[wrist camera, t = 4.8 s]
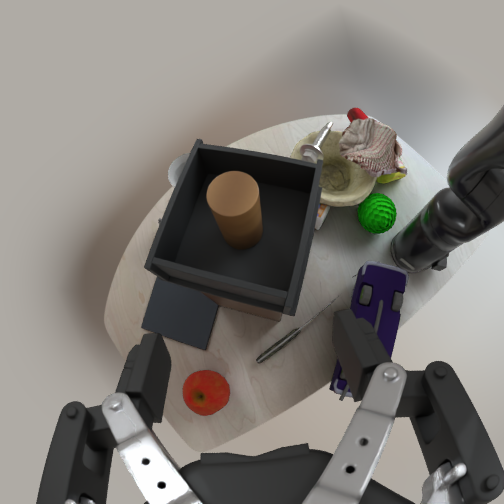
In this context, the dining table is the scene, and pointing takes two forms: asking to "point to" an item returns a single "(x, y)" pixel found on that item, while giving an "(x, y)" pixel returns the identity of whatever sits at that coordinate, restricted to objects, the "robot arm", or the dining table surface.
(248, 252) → the bin
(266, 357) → the knife
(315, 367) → the dining table surface
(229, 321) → the dining table surface
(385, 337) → the toy car
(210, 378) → the apple
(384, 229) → the ornament
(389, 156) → the wadded dish towel
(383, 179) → the bottle
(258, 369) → the dining table surface
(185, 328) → the mat
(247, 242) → the brown cylinder
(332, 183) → the bowl
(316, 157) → the screw
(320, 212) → the pill bottle
